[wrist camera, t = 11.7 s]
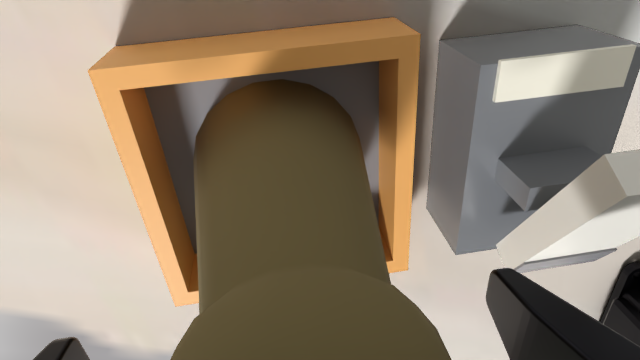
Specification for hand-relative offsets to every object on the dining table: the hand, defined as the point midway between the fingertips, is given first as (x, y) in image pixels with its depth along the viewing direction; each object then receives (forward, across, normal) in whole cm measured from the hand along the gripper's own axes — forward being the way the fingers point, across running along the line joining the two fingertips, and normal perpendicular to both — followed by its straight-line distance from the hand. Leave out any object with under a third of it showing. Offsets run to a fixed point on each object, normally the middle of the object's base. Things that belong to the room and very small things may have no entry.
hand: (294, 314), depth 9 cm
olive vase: (+7, 0, 0) cm, 7 cm away
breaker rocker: (+2, -8, 0) cm, 9 cm away
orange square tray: (+8, 0, 0) cm, 8 cm away
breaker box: (+8, -8, 0) cm, 11 cm away
